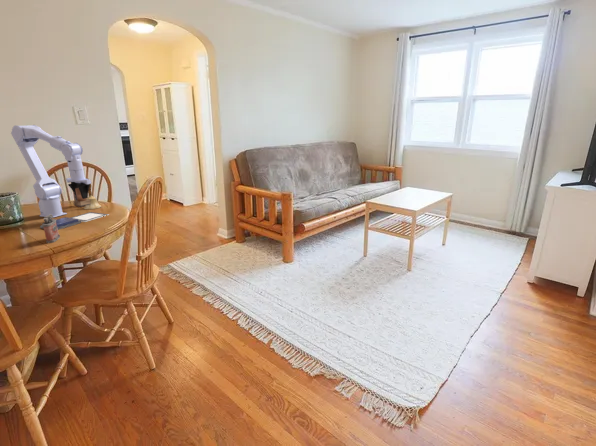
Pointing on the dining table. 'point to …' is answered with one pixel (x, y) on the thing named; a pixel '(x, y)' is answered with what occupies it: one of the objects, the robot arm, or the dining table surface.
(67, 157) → the robot arm
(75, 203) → the stamp
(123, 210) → the dining table surface
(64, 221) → the ink pad
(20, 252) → the dining table surface
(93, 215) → the marked square
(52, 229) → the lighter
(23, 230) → the dining table surface
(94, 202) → the hand bell
